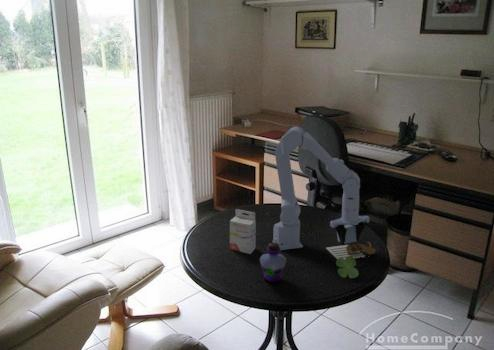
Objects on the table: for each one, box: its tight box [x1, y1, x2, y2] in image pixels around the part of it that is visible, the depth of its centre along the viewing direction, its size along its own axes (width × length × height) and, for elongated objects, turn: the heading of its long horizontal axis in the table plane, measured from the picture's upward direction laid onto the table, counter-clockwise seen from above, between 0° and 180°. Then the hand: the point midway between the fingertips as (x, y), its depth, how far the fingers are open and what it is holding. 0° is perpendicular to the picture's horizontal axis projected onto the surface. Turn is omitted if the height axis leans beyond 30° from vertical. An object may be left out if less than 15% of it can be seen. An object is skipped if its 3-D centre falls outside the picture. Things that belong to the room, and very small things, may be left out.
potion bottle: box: [259, 242, 288, 284], centre depth 129 cm, size 9×9×12 cm
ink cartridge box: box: [229, 208, 257, 255], centre depth 148 cm, size 9×5×15 cm, turn 65°
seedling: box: [335, 256, 360, 279], centre depth 134 cm, size 7×8×6 cm
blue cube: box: [336, 224, 357, 245], centre depth 148 cm, size 5×5×6 cm
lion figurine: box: [346, 240, 380, 256], centre depth 147 cm, size 12×4×7 cm
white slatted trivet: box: [325, 244, 366, 260], centre depth 148 cm, size 12×10×1 cm
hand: (349, 242), depth 148 cm, fingers closed on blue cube, 5 cm apart
